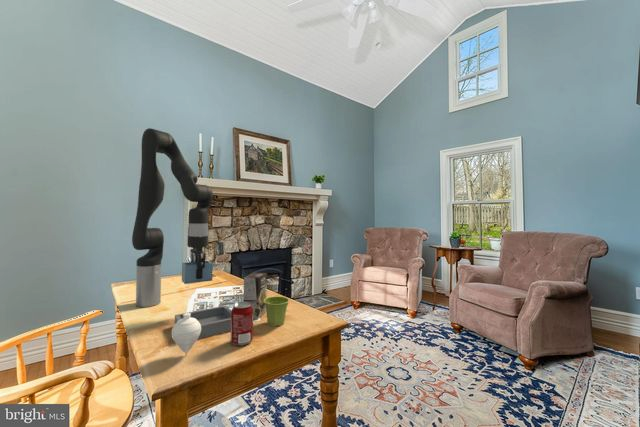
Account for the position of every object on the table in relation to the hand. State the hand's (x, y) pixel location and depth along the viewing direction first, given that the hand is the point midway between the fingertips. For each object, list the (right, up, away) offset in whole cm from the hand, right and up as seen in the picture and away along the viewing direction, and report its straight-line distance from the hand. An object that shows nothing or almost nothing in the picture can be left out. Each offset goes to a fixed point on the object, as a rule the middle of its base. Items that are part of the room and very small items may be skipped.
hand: (197, 276), depth 110 cm
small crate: (0, -2, 0) cm, 2 cm away
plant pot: (+32, -16, -7) cm, 37 cm away
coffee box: (+23, -16, +1) cm, 28 cm away
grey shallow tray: (+9, -15, -12) cm, 21 cm away
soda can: (+24, -16, -22) cm, 36 cm away
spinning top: (+11, -16, -31) cm, 36 cm away
